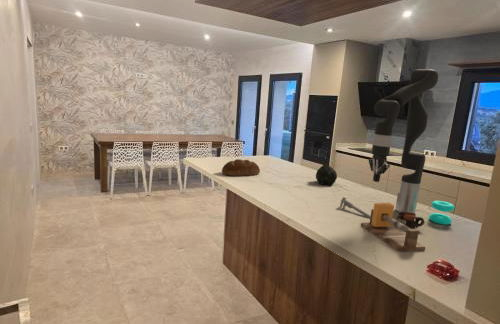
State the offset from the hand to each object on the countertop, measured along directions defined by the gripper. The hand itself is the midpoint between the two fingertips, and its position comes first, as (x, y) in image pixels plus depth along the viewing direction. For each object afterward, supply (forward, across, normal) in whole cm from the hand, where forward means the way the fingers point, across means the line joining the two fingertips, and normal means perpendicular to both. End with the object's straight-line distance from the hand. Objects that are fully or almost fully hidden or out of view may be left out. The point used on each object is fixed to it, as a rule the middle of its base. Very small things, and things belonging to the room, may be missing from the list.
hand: (376, 181), depth 147 cm
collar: (+18, -8, 0) cm, 20 cm away
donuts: (+21, 0, -41) cm, 46 cm away
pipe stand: (+21, -15, 0) cm, 26 cm away
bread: (+21, +99, +42) cm, 110 cm away
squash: (+21, +73, -14) cm, 77 cm away
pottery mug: (+21, -5, -18) cm, 28 cm away
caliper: (+22, +15, -2) cm, 26 cm away
